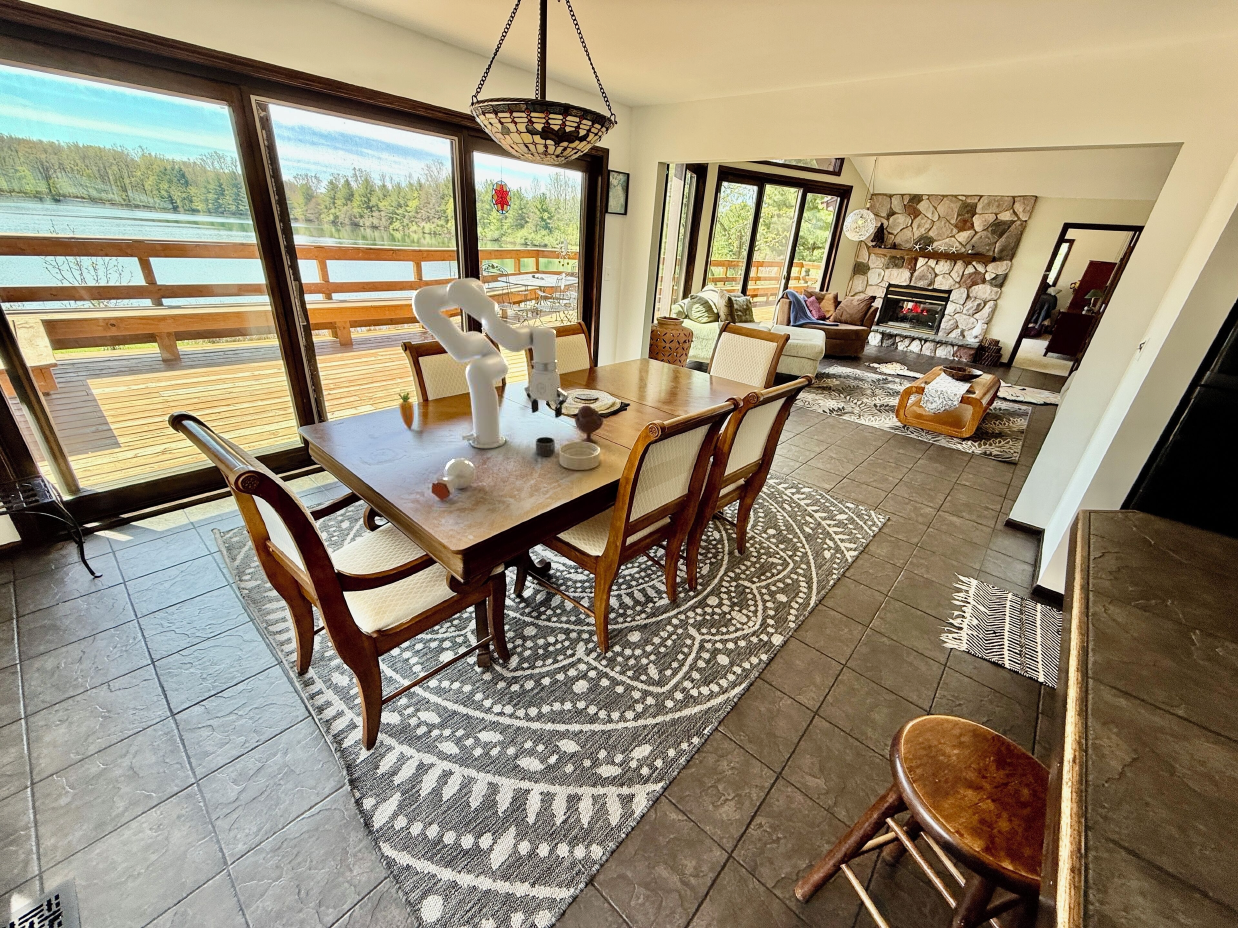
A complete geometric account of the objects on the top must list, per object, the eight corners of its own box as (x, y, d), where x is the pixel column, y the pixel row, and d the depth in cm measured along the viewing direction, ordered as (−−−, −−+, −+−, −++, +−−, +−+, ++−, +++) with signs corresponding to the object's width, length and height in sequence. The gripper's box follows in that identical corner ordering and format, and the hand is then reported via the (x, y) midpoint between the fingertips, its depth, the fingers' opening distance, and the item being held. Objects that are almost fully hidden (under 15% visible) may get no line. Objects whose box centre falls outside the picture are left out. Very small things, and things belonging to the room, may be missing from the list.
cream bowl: (569, 474, 160) (569, 460, 158) (552, 457, 171) (552, 445, 169) (606, 466, 167) (607, 453, 165) (588, 451, 178) (588, 439, 176)
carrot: (400, 429, 188) (394, 393, 182) (409, 425, 192) (403, 389, 186) (409, 432, 187) (404, 395, 180) (419, 428, 191) (414, 391, 184)
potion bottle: (475, 483, 155) (447, 510, 142) (451, 464, 154) (421, 489, 141) (487, 466, 149) (459, 492, 137) (462, 446, 148) (431, 471, 136)
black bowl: (540, 458, 171) (539, 445, 168) (533, 451, 176) (532, 438, 174) (557, 455, 174) (557, 442, 172) (550, 448, 179) (550, 435, 177)
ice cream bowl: (599, 449, 180) (600, 411, 174) (570, 445, 182) (570, 408, 176) (605, 438, 190) (606, 402, 183) (578, 435, 192) (578, 399, 185)
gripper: (517, 364, 161) (520, 413, 169) (561, 372, 155) (561, 422, 162) (530, 360, 168) (532, 407, 175) (573, 367, 161) (573, 415, 168)
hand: (546, 414), depth 168 cm, fingers open, 9 cm apart
